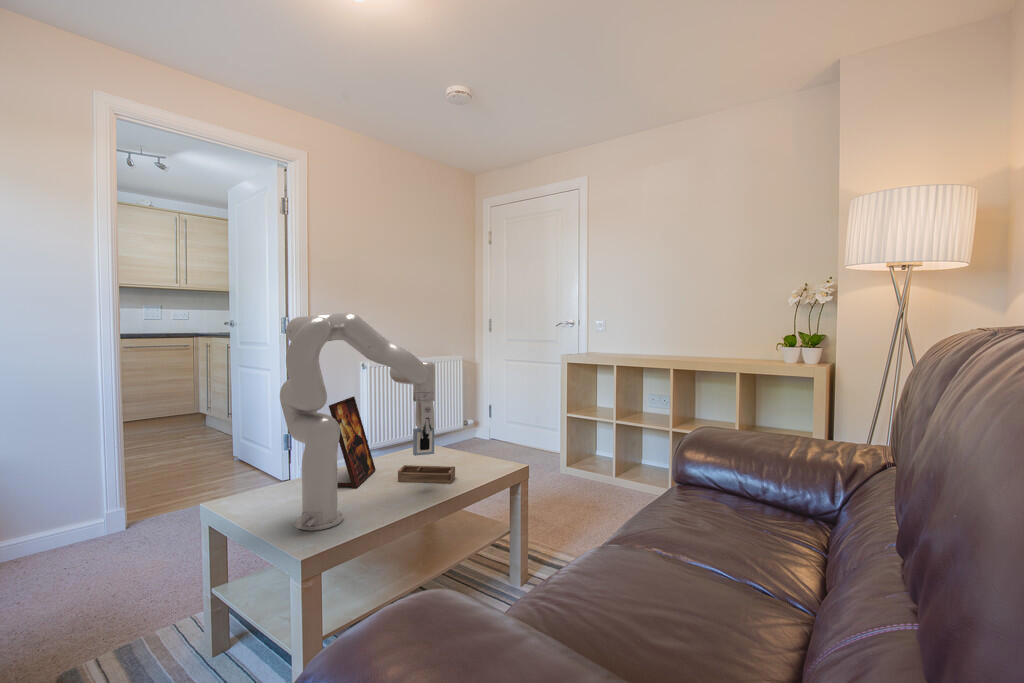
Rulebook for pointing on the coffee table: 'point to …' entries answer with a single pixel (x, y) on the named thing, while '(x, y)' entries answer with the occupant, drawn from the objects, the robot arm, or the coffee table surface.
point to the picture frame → (353, 442)
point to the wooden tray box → (426, 474)
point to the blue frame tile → (417, 443)
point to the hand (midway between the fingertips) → (423, 448)
